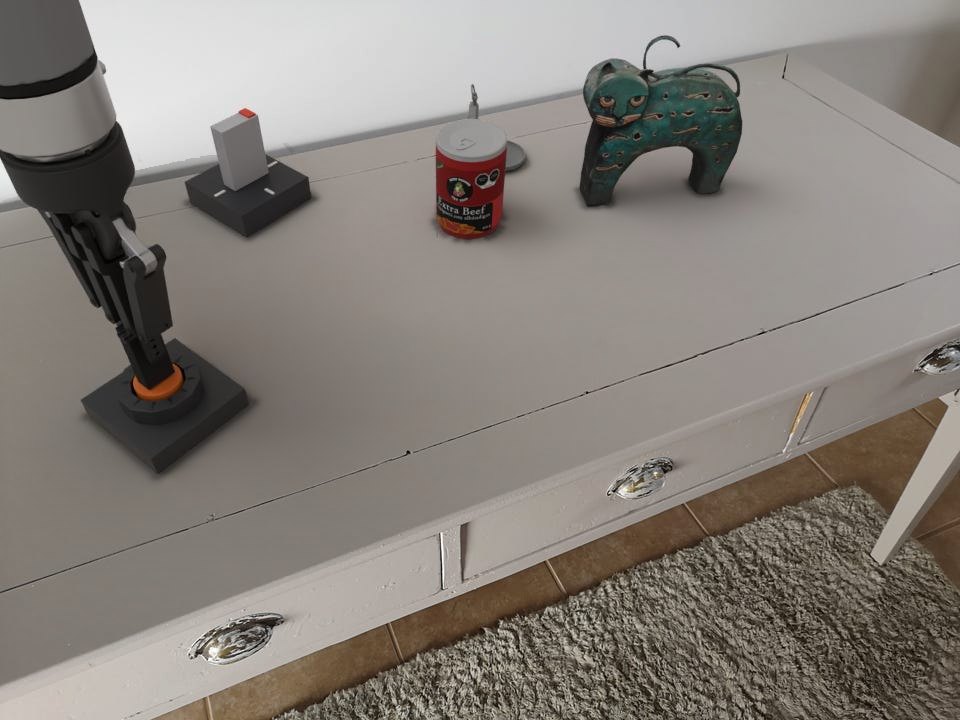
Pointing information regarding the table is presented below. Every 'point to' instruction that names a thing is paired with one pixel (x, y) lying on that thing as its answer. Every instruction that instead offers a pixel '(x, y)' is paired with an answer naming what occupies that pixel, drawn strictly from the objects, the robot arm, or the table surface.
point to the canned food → (470, 177)
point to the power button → (160, 387)
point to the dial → (240, 149)
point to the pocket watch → (513, 149)
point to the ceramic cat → (657, 121)
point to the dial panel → (249, 196)
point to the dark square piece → (167, 409)
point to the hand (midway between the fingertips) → (156, 376)
